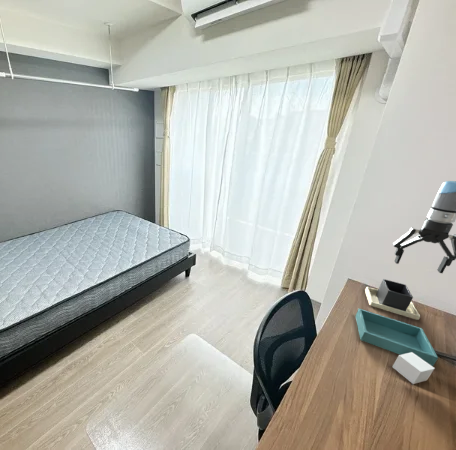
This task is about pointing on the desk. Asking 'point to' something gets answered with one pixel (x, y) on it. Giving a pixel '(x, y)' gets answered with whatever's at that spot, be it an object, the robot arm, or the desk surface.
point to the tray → (374, 302)
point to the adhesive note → (413, 367)
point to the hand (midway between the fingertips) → (417, 267)
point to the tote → (394, 335)
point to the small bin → (394, 295)
